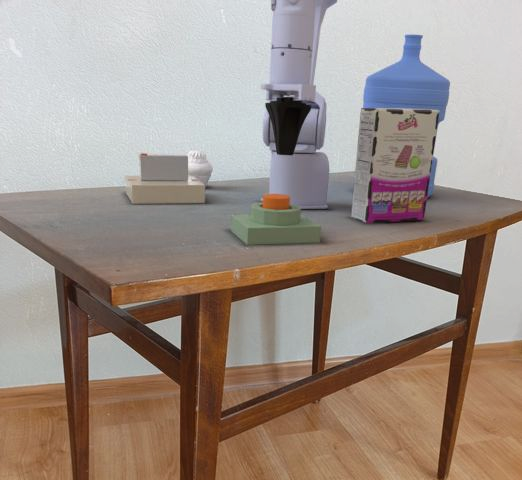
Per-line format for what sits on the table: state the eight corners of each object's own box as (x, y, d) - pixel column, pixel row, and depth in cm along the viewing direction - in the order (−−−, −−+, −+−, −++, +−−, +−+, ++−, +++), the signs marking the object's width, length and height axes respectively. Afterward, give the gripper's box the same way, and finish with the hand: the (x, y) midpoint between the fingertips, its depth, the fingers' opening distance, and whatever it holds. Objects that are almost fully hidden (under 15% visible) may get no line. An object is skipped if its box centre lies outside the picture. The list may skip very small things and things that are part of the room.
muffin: (174, 187, 112) (173, 148, 109) (191, 183, 117) (191, 146, 114) (202, 191, 110) (202, 151, 107) (218, 187, 115) (219, 149, 112)
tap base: (192, 191, 109) (192, 174, 107) (207, 204, 98) (207, 184, 97) (124, 192, 105) (123, 173, 104) (132, 205, 94) (131, 185, 93)
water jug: (337, 191, 117) (353, 31, 105) (378, 184, 128) (396, 39, 116) (408, 203, 108) (434, 30, 96) (445, 195, 119) (472, 39, 107)
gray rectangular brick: (186, 179, 102) (186, 153, 100) (188, 180, 101) (188, 154, 99) (139, 179, 100) (138, 152, 98) (141, 180, 98) (140, 153, 97)
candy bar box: (405, 214, 98) (421, 108, 91) (424, 221, 94) (442, 110, 87) (347, 217, 94) (359, 106, 87) (365, 224, 90) (378, 107, 83)
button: (283, 206, 80) (284, 193, 79) (293, 212, 77) (294, 198, 76) (258, 206, 79) (259, 193, 78) (267, 212, 76) (267, 198, 75)
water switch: (298, 229, 84) (300, 200, 83) (319, 242, 78) (322, 212, 76) (230, 230, 82) (231, 201, 80) (247, 245, 75) (248, 213, 73)
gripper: (248, 52, 86) (244, 150, 91) (282, 43, 73) (275, 158, 78) (293, 56, 88) (287, 151, 93) (334, 48, 75) (324, 159, 80)
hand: (284, 155), depth 86 cm, fingers closed
